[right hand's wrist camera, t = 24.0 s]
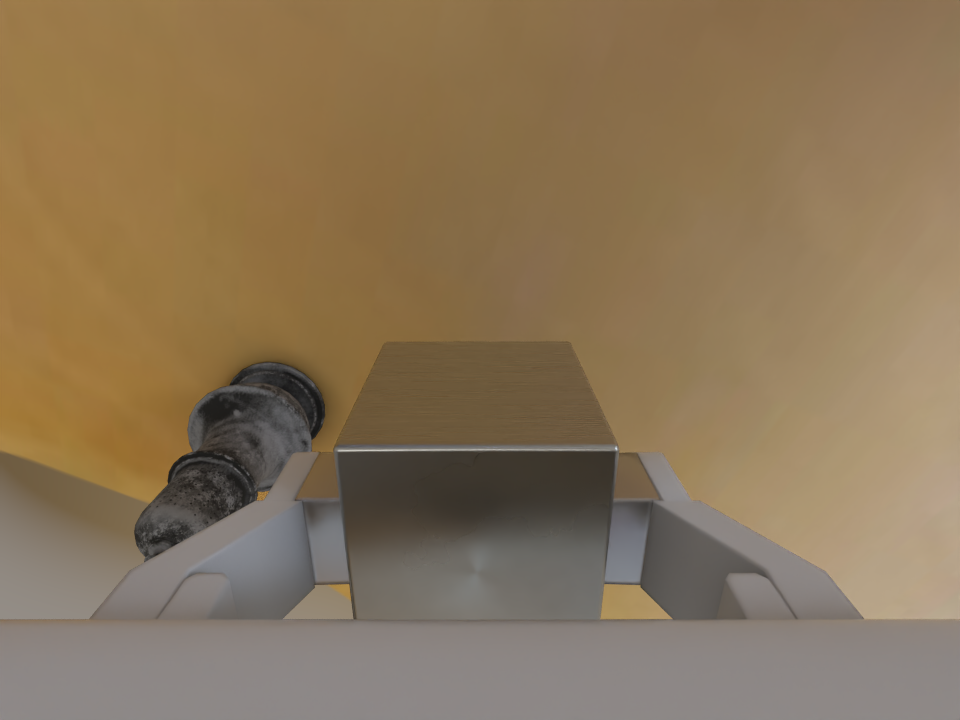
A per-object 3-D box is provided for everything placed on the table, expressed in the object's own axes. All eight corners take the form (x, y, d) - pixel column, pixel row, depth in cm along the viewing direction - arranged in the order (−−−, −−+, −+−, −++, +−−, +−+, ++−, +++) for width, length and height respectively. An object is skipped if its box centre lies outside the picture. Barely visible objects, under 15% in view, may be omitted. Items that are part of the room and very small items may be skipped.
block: (395, 511, 13) (358, 675, 9) (383, 340, 12) (330, 446, 7) (559, 511, 13) (595, 674, 9) (570, 339, 12) (621, 446, 8)
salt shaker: (308, 469, 30) (208, 656, 19) (208, 428, 29) (41, 601, 18) (346, 385, 28) (260, 540, 17) (240, 338, 27) (75, 470, 16)
